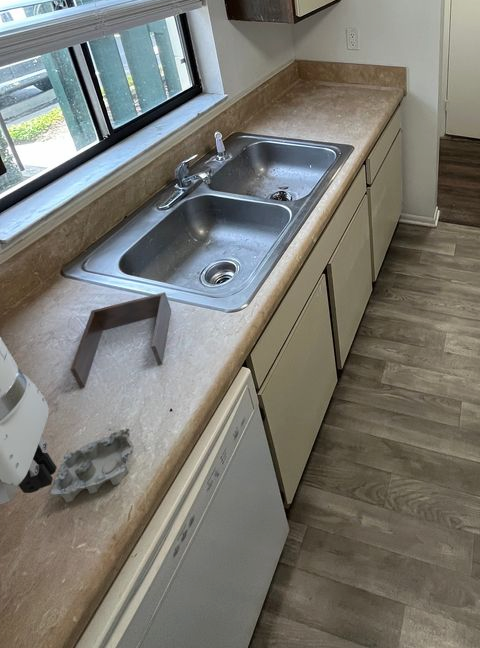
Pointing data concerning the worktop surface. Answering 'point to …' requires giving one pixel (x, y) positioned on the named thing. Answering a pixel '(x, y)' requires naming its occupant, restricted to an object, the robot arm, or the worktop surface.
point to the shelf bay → (118, 317)
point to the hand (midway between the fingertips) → (41, 480)
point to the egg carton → (94, 465)
